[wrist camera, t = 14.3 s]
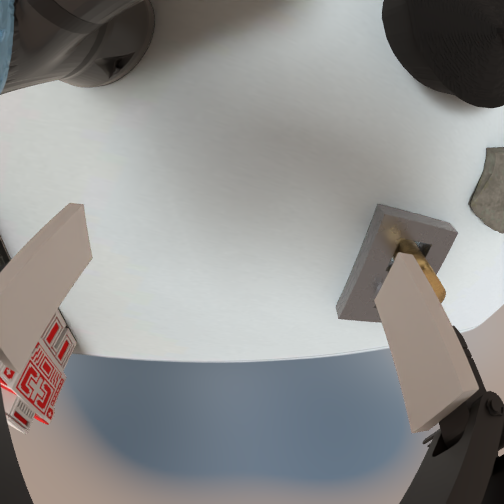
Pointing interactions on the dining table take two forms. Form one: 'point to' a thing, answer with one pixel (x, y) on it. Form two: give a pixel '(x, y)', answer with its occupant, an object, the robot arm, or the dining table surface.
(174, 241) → the dining table surface
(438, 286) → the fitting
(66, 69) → the robot arm
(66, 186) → the dining table surface
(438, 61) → the hut
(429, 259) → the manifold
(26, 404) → the toy
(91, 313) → the dining table surface
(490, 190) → the stone
